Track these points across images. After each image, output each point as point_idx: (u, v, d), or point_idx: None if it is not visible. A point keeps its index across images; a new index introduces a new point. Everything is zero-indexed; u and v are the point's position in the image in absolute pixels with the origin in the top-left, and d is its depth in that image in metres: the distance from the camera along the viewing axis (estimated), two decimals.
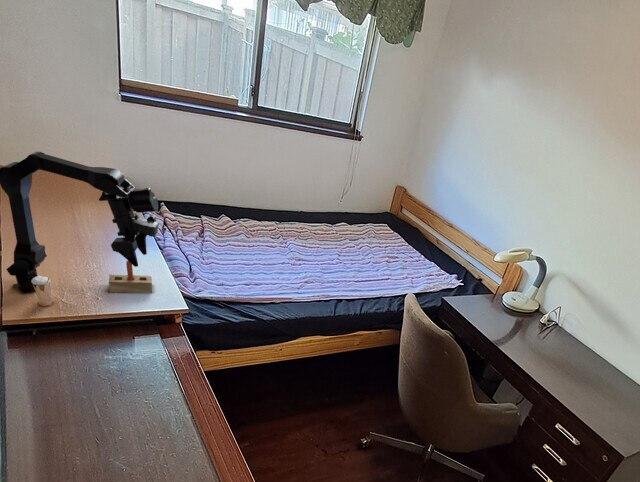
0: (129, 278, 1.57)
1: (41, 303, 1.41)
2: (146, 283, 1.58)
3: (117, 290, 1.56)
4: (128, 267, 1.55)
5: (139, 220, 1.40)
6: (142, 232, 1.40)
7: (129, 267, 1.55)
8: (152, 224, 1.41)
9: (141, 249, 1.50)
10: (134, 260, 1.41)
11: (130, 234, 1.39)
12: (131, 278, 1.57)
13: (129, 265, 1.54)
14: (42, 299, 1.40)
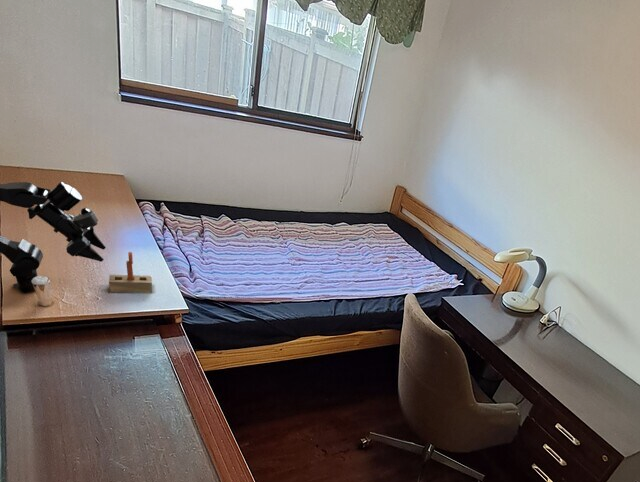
0: (129, 278, 1.57)
1: (41, 303, 1.41)
2: (146, 283, 1.58)
3: (117, 290, 1.56)
4: (128, 267, 1.55)
5: (75, 218, 1.41)
6: (84, 226, 1.41)
7: (129, 267, 1.55)
8: (88, 214, 1.41)
9: (98, 245, 1.52)
10: (96, 255, 1.44)
11: (77, 234, 1.41)
12: (131, 278, 1.57)
13: (129, 265, 1.54)
14: (42, 299, 1.40)
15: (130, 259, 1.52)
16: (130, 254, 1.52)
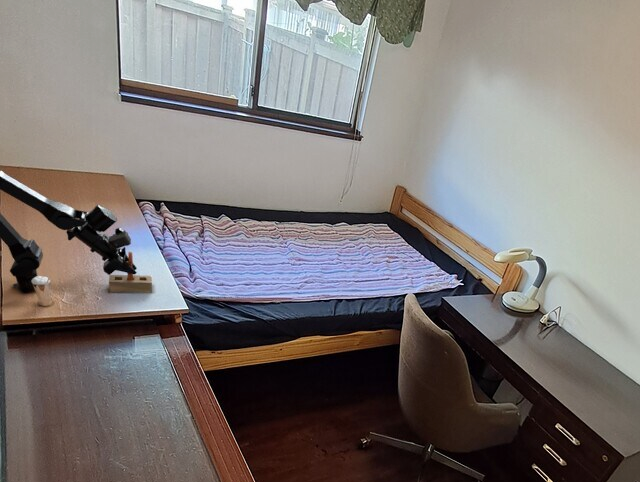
0: (129, 278, 1.57)
1: (41, 303, 1.41)
2: (146, 283, 1.58)
3: (117, 290, 1.56)
4: None
5: (110, 238, 1.48)
6: (119, 246, 1.48)
7: None
8: (122, 234, 1.48)
9: None
10: (130, 269, 1.54)
11: (112, 253, 1.48)
12: (131, 278, 1.57)
13: None
14: (42, 299, 1.40)
15: (130, 259, 1.52)
16: (130, 254, 1.52)
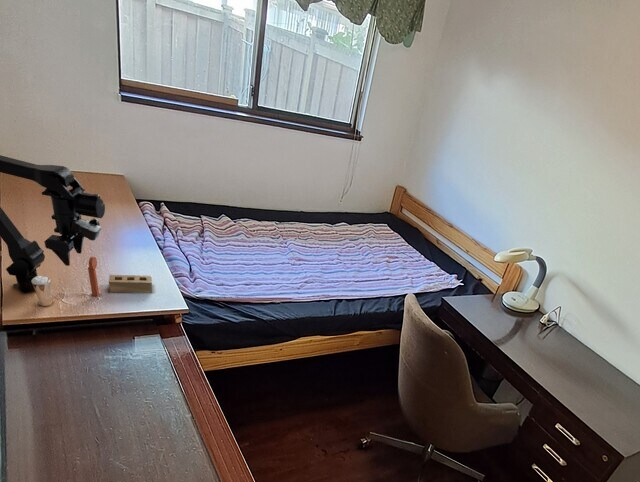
0: (92, 284, 1.49)
1: (41, 303, 1.41)
2: (146, 283, 1.58)
3: (117, 290, 1.56)
4: (90, 272, 1.47)
5: (81, 221, 1.38)
6: (81, 234, 1.37)
7: (91, 272, 1.47)
8: (94, 228, 1.39)
9: (76, 247, 1.46)
10: (66, 259, 1.38)
11: (68, 233, 1.36)
12: (94, 284, 1.49)
13: (91, 270, 1.47)
14: (42, 299, 1.40)
15: (90, 265, 1.44)
16: (91, 259, 1.44)
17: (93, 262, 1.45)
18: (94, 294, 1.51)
